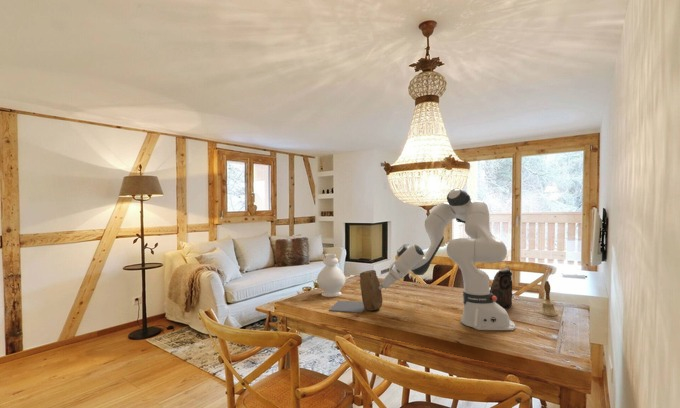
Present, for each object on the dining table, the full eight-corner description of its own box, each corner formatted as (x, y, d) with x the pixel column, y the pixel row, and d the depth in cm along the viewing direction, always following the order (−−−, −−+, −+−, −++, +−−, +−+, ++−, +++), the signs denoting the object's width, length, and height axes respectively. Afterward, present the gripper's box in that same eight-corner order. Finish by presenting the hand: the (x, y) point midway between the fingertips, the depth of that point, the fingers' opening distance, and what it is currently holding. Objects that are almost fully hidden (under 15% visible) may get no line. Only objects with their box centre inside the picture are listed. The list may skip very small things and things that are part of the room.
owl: (510, 302, 189) (509, 266, 189) (521, 309, 177) (520, 270, 177) (486, 302, 190) (485, 266, 190) (496, 309, 177) (495, 270, 177)
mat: (369, 303, 193) (369, 302, 193) (362, 313, 176) (362, 312, 176) (338, 301, 198) (338, 300, 198) (328, 311, 181) (328, 309, 181)
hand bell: (547, 316, 164) (546, 283, 164) (534, 311, 172) (534, 279, 172) (562, 315, 165) (561, 282, 166) (549, 310, 174) (548, 278, 174)
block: (373, 311, 174) (367, 271, 177) (362, 311, 179) (356, 272, 182) (385, 306, 183) (379, 268, 185) (374, 306, 187) (368, 269, 190)
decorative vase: (336, 289, 227) (335, 251, 227) (351, 295, 212) (350, 254, 212) (312, 293, 218) (311, 254, 218) (326, 299, 202) (325, 257, 203)
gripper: (396, 262, 188) (378, 279, 191) (390, 269, 169) (371, 288, 171) (404, 271, 187) (387, 288, 190) (400, 279, 167) (380, 297, 170)
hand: (379, 288), depth 180 cm, fingers closed
